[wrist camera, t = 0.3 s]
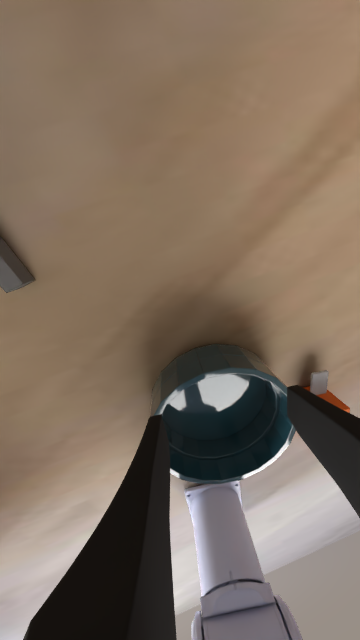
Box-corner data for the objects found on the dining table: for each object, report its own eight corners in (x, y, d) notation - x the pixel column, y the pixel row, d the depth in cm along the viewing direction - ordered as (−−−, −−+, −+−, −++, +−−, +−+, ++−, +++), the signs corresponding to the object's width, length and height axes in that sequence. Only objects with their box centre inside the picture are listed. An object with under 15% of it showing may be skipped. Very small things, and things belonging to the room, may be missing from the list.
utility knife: (317, 420, 26) (343, 449, 22) (296, 424, 26) (320, 454, 22) (321, 362, 23) (354, 384, 19) (299, 367, 22) (326, 390, 19)
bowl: (271, 427, 25) (296, 467, 21) (165, 450, 25) (166, 496, 20) (269, 330, 20) (301, 352, 16) (138, 356, 20) (130, 387, 15)
